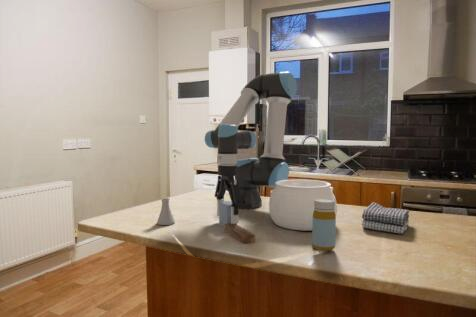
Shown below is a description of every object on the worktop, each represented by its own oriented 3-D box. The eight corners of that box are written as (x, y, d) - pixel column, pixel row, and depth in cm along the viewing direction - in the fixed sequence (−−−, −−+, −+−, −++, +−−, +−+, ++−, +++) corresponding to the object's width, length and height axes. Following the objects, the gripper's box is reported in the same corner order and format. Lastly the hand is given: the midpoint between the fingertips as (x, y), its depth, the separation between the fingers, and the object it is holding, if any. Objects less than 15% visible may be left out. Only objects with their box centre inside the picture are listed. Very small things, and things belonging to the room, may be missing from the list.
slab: (228, 222, 134) (228, 200, 134) (236, 227, 127) (236, 204, 127) (219, 223, 133) (219, 201, 132) (227, 229, 126) (227, 205, 125)
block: (234, 229, 125) (234, 223, 124) (254, 242, 110) (254, 234, 110) (224, 230, 123) (224, 224, 123) (244, 243, 108) (244, 236, 108)
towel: (360, 229, 125) (361, 209, 125) (369, 219, 141) (370, 200, 140) (405, 236, 118) (406, 214, 117) (409, 224, 133) (410, 204, 133)
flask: (170, 226, 129) (170, 200, 129) (153, 225, 131) (152, 200, 130) (177, 221, 136) (177, 197, 136) (161, 220, 138) (160, 196, 137)
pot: (293, 237, 115) (293, 190, 114) (254, 220, 138) (254, 181, 137) (353, 227, 128) (354, 184, 127) (308, 212, 151) (309, 177, 150)
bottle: (309, 244, 108) (310, 198, 107) (330, 243, 109) (331, 198, 108) (316, 251, 101) (317, 202, 100) (338, 250, 102) (339, 202, 101)
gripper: (207, 162, 138) (206, 213, 139) (232, 167, 115) (232, 228, 117) (223, 162, 141) (223, 211, 142) (251, 167, 119) (251, 225, 120)
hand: (227, 219), depth 130 cm, fingers open, 13 cm apart
